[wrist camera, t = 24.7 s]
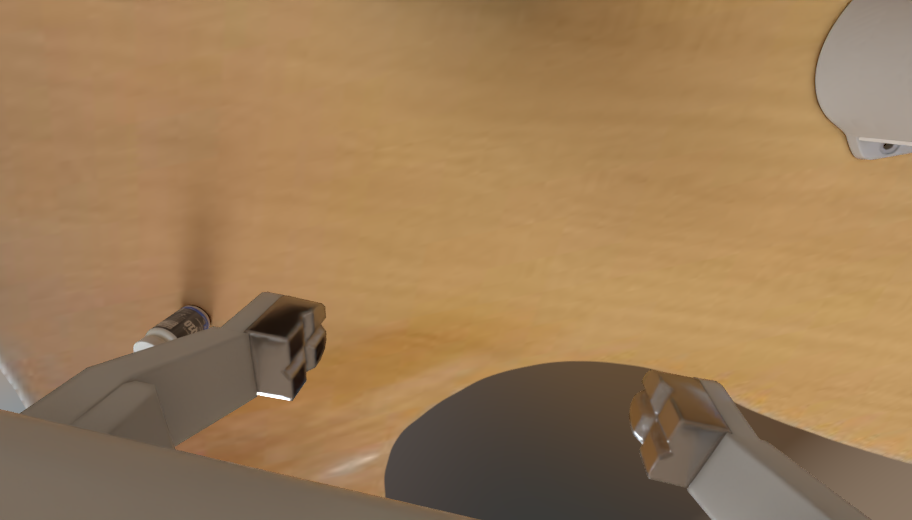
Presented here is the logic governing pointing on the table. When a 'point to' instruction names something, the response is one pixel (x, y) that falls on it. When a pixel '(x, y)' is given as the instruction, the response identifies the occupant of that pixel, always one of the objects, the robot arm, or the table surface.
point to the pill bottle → (175, 327)
